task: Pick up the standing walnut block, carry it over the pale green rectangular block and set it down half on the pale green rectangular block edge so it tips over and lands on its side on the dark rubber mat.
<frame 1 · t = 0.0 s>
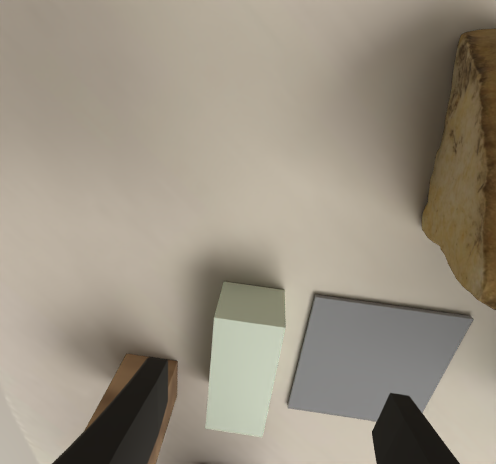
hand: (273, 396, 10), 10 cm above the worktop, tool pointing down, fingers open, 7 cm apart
rock: (470, 150, 16), on the worktop
mat: (369, 365, 23), on the worktop
pale green rectangular block: (245, 342, 23), on the worktop
walnut block: (152, 375, 26), on the worktop
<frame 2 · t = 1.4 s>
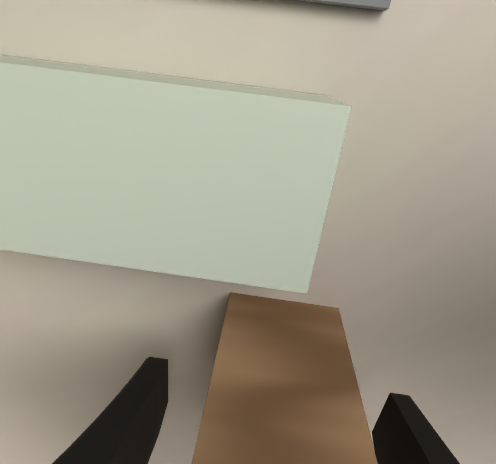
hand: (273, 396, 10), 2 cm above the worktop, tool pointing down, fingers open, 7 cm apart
pale green rectangular block: (146, 146, 10), on the worktop
walnut block: (276, 340, 13), on the worktop
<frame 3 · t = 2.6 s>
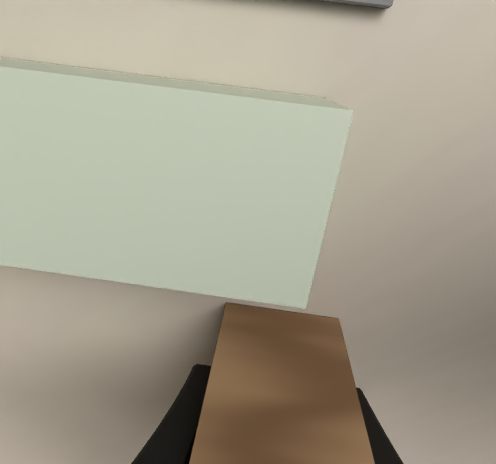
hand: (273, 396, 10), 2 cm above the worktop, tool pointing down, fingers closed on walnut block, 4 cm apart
pale green rectangular block: (136, 150, 9), on the worktop
walnut block: (273, 351, 12), on the worktop, touching gripper
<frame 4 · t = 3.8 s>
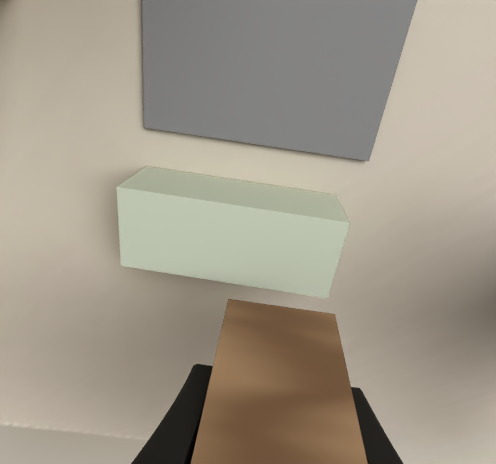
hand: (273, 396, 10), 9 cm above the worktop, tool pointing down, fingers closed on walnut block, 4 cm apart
mat: (272, 23, 14), on the worktop
pale green rectangular block: (236, 215, 18), on the worktop
walnut block: (273, 345, 13), point 6 cm above the worktop, touching gripper
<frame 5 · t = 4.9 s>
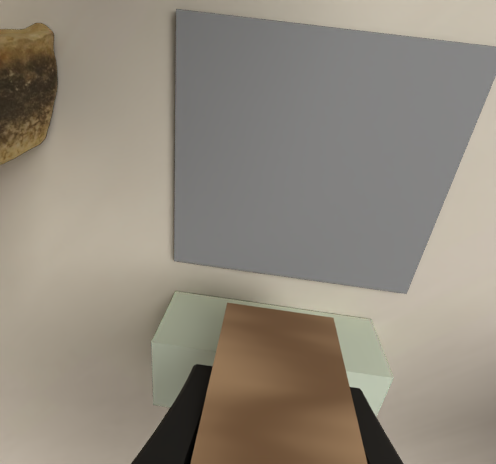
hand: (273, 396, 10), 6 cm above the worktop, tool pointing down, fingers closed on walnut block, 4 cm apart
mat: (309, 172, 13), on the worktop
pale green rectangular block: (267, 334, 17), on the worktop
walnut block: (272, 349, 13), point 3 cm above the worktop, touching gripper, pale green rectangular block
when the fingers open (6 cm above the worktop, at t = 5.5 s): walnut block drops 1 cm and tips over, resting on mat.
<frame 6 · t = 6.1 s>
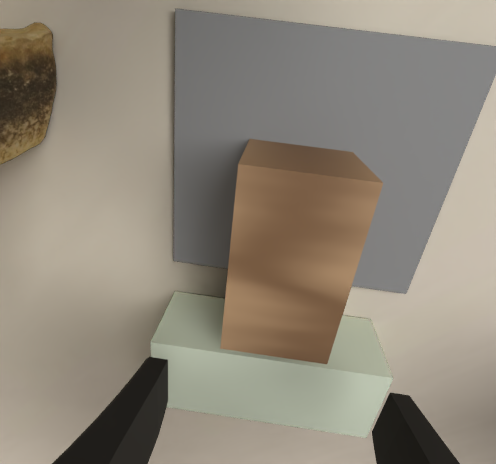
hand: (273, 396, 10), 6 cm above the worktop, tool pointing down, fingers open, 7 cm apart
mat: (308, 172, 13), on the worktop
pale green rectangular block: (266, 334, 17), on the worktop
walnut block: (274, 319, 14), point 2 cm above the worktop, tilted 90°, touching mat
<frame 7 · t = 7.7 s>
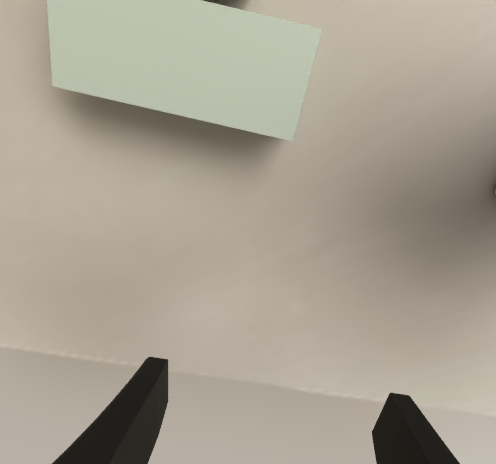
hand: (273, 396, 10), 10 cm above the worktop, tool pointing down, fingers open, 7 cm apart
pale green rectangular block: (198, 62, 15), on the worktop
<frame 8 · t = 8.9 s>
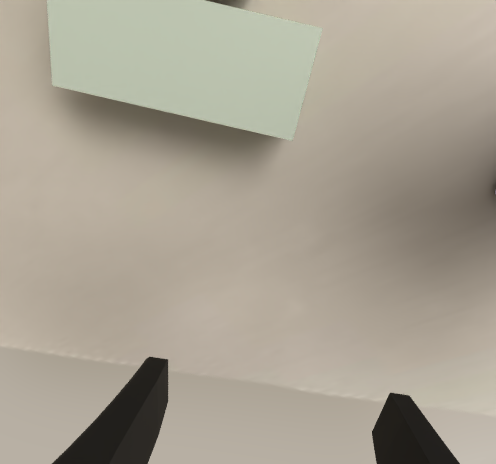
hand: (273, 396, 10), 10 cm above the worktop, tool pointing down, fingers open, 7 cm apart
pale green rectangular block: (198, 62, 15), on the worktop
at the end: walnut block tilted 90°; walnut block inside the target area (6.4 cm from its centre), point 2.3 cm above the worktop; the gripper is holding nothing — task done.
